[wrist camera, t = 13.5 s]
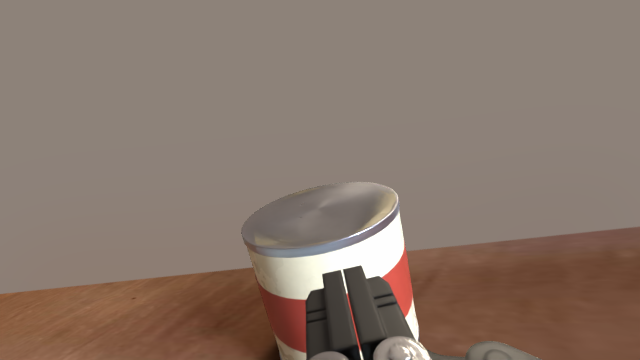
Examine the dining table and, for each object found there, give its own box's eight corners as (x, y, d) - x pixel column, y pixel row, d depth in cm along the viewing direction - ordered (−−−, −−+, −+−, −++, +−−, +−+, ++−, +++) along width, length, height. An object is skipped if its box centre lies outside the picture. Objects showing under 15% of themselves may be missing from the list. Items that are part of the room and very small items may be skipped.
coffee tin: (251, 373, 26) (205, 243, 23) (319, 282, 37) (295, 185, 34) (400, 426, 20) (366, 255, 16) (430, 297, 31) (413, 178, 27)
